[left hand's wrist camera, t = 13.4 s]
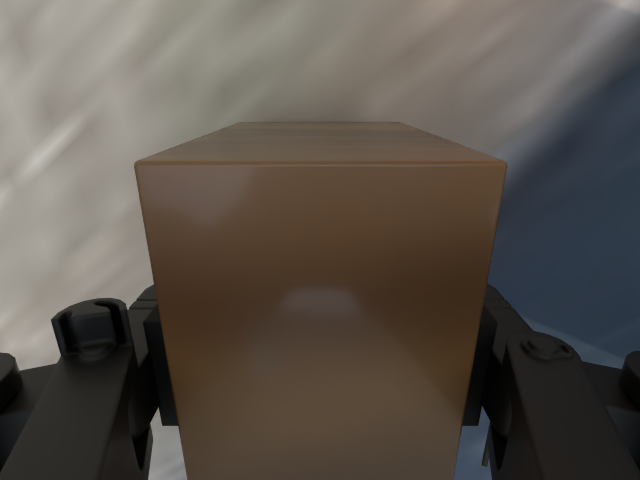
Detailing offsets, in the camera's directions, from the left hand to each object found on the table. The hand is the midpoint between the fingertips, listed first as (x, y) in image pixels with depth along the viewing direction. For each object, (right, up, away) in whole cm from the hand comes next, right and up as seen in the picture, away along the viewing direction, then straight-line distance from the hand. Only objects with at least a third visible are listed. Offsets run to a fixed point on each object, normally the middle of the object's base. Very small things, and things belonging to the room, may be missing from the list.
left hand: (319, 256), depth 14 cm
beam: (0, -31, +13) cm, 34 cm away
